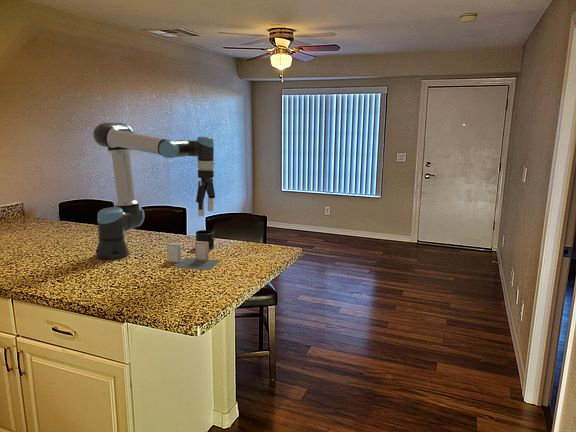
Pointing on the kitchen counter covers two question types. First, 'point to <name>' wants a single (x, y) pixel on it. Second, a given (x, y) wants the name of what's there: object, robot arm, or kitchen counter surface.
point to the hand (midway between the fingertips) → (206, 213)
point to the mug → (206, 237)
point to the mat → (197, 264)
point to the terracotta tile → (201, 251)
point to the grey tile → (174, 252)
